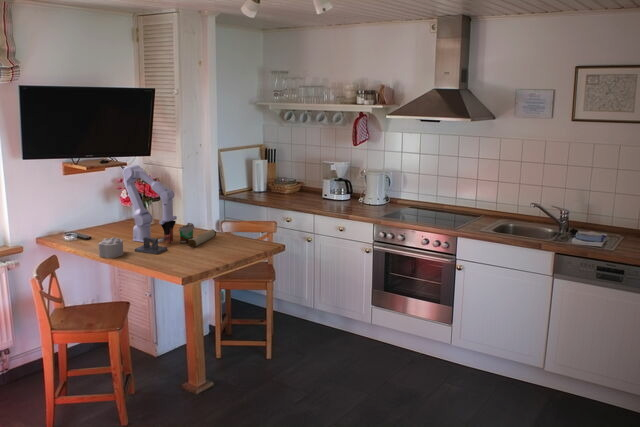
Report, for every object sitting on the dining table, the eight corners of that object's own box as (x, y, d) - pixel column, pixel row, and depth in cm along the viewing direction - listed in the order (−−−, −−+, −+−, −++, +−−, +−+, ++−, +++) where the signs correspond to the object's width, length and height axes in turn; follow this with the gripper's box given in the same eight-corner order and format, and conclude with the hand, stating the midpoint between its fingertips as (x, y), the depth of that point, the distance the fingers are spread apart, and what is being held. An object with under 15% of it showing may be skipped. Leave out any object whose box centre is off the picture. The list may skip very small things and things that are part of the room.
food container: (189, 245, 342) (189, 228, 340) (179, 244, 343) (179, 227, 341) (198, 239, 354) (197, 223, 352) (188, 238, 355) (187, 222, 353)
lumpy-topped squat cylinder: (96, 256, 317) (95, 240, 315) (112, 250, 329) (111, 235, 327) (112, 258, 314) (111, 243, 312) (128, 252, 326) (127, 237, 324)
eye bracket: (145, 246, 337) (145, 234, 335) (167, 249, 332) (166, 237, 330) (134, 251, 327) (134, 239, 326) (156, 254, 323) (156, 242, 321)
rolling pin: (192, 250, 334) (192, 241, 332) (183, 249, 335) (183, 240, 334) (219, 236, 363) (219, 228, 362) (211, 235, 365) (211, 227, 364)
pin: (167, 240, 347) (166, 227, 345) (173, 241, 346) (172, 227, 344) (153, 246, 335) (152, 232, 333) (159, 247, 333) (158, 233, 332)
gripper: (166, 214, 333) (167, 237, 336) (180, 209, 346) (181, 231, 349) (155, 213, 335) (156, 236, 338) (170, 208, 349) (171, 230, 352)
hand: (168, 234), depth 344 cm, fingers closed on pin, 3 cm apart
